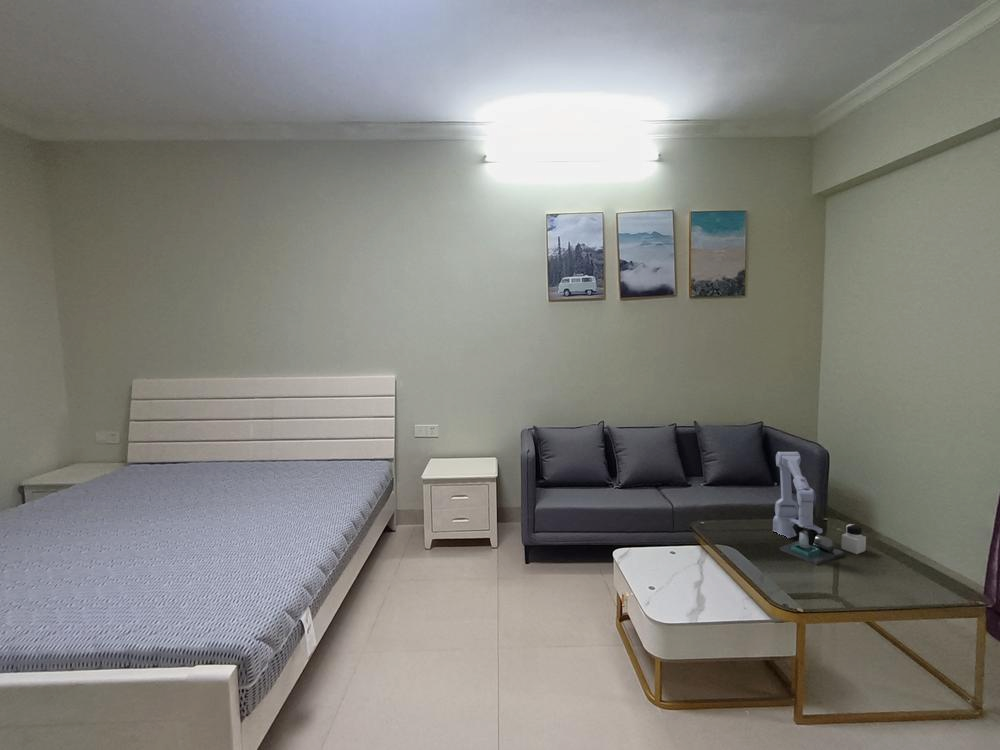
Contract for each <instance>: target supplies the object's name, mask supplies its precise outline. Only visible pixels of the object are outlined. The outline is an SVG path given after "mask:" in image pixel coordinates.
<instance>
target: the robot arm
mask: <svg viewBox="0 0 1000 750" xmlns="http://www.w3.org/2000/svg"><path fill="white" fill-rule="evenodd" d="M801 461H802V460H801V454H800V453H799V452H798V451H777V452H776V454H775V464H776V465H775V466H776V467H778V468H779V476H780V478H779V480H780V498H779V499H778V500H776V501H775V505H774V512H775V513H774V514H775V515H774V516H773V519H772V531H774V532H777V533H778V534H777V535H779V534H780V535H779V536H781V535H784V536H786V537H787V538H786V537H785V538H786V539H791V538H794V537H796V538H797V539H796V540H797V541H799V531H804V528H805V529H807V530H806V531H807V533H808V537H809V545H813V543H814V540H815V538H816V536H817V535H819V534H823V528H821V527H819V526H817V525H815V524H814V522H813V521H814V503H815V502H816V500H817V499H816V493H815V490H814V489H813V488H812V487H810V485H809V482H808V481H807V478H806V476H803V473H802V470H801V467H800V464H801ZM792 476H793V480H792ZM792 483H793V485H794V487H795V490H796V499H797V501H795V500H794V499H793V493H792V491H793V490H792ZM797 518H798V519H797ZM784 536H783V537H784Z"/></svg>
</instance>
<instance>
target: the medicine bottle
mask: <svg viewBox="0 0 1000 750" xmlns="http://www.w3.org/2000/svg"><path fill="white" fill-rule="evenodd" d="M862 530H863V529H862V527H861V526H860V525H858V524H855V523H853V524H852V523H849V524H847V525H846V526H845V531H846V532H845V533H843V534H841V550H844V551H847V552H850V553H853V554H854V555H858V554H861V553H865V551H866V550H867V549H866V547H867V536H865V535H862V534H863V531H862Z"/></svg>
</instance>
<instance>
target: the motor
mask: <svg viewBox="0 0 1000 750" xmlns="http://www.w3.org/2000/svg"><path fill="white" fill-rule="evenodd" d="M779 551H781V552H784V553H786V554H789V555H790V556H794V557H796V558H798V559H800V560H803V561H805V562H808V563H810V564H813V565H815V566H819V565H821V564H824V563H827V562H829V561H831V560H834V559H837V558H840V557H843V556H845V551H843V550H840V549H837V548H836V541H835V540H834V539H831V538H829V537H825V536H822V535H819V534H817V536H816V538H815V540H814V543H813V545H811V548H802V547H800V546H799V541H798V540H796V541H794V542H791V543H788V544H784V545H783V546H780V547H779Z"/></svg>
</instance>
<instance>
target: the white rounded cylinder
mask: <svg viewBox="0 0 1000 750" xmlns="http://www.w3.org/2000/svg"><path fill="white" fill-rule="evenodd" d="M807 531H808V530H803V531H799V546H800V547H802V548H811V545H809V537H808V533H807Z"/></svg>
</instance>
